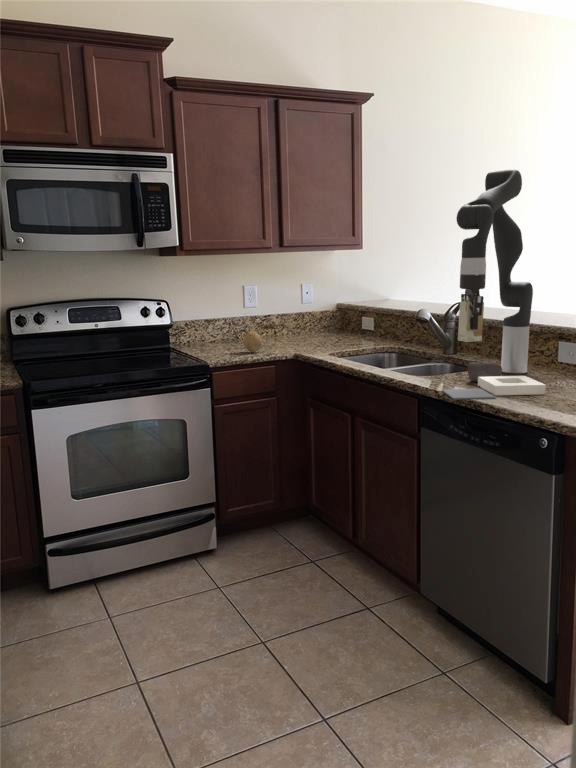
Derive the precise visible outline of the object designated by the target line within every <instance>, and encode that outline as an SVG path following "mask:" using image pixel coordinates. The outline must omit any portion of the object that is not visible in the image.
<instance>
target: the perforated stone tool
mask: <svg viewBox="0 0 576 768" xmlns="http://www.w3.org/2000/svg"><path fill="white" fill-rule="evenodd" d="M467 374H468V380H469V381H470V382H478V377H488V376H502V374H503V372H502V367H501V365H500V364H499V363H496V362H491V361H479V362H477V361H475V362H474V361H473V362H468V363H467Z"/></svg>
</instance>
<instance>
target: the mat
mask: <svg viewBox="0 0 576 768" xmlns="http://www.w3.org/2000/svg"><path fill="white" fill-rule="evenodd" d="M441 392H442V393H444V394H445V395H447V396H448V397H449V398H451V399H452V400H455V401H456V400H459V401H460V400H490V399H492V400H493V399H494V400H495V399H496V395H493V394H492V393H490V392H488V391H486V390H485V389H483V388H454V389H453V388H450V389H449V388H447V389H444V388H443V389H441Z"/></svg>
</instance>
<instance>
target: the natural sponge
mask: <svg viewBox="0 0 576 768" xmlns="http://www.w3.org/2000/svg"><path fill="white" fill-rule="evenodd" d="M242 345H243V346H244V348H245V349H246V350H247V351H248V352H250V353H252V354H253V353H257V352H258V351H259V350H261V349H262V348H263V346H264V342H263V339H262V337H261V336H260V334H259V333H258V332H256V331H253V330H250V331H248V332H247V333H245V335H244V336H243V338H242Z"/></svg>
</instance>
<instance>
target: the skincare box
mask: <svg viewBox="0 0 576 768" xmlns="http://www.w3.org/2000/svg"><path fill="white" fill-rule="evenodd" d="M470 304H471V306H472V307H473V305H472V303H470V302H467V301H463V302H461V301H459V314H458V331H457V332H458V333H457V341H459V342H465V343H472V342H473V343H474V342H482V341H483V326H484V309H485V302H484V301H483V307H482V315H481V316H479V317H478V329H477V330H471V329H470V317H471V316H470V309H469V305H470Z"/></svg>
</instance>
